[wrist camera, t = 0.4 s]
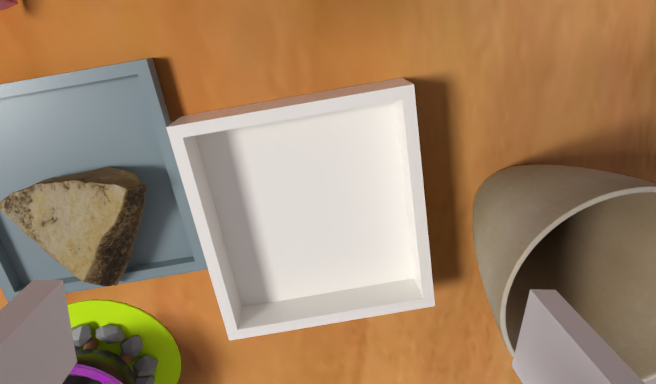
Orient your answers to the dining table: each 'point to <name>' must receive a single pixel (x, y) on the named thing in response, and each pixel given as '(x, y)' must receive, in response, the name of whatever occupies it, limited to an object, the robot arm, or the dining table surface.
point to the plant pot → (572, 252)
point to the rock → (83, 220)
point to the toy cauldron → (120, 345)
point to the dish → (309, 206)
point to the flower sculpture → (7, 4)
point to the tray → (94, 166)
